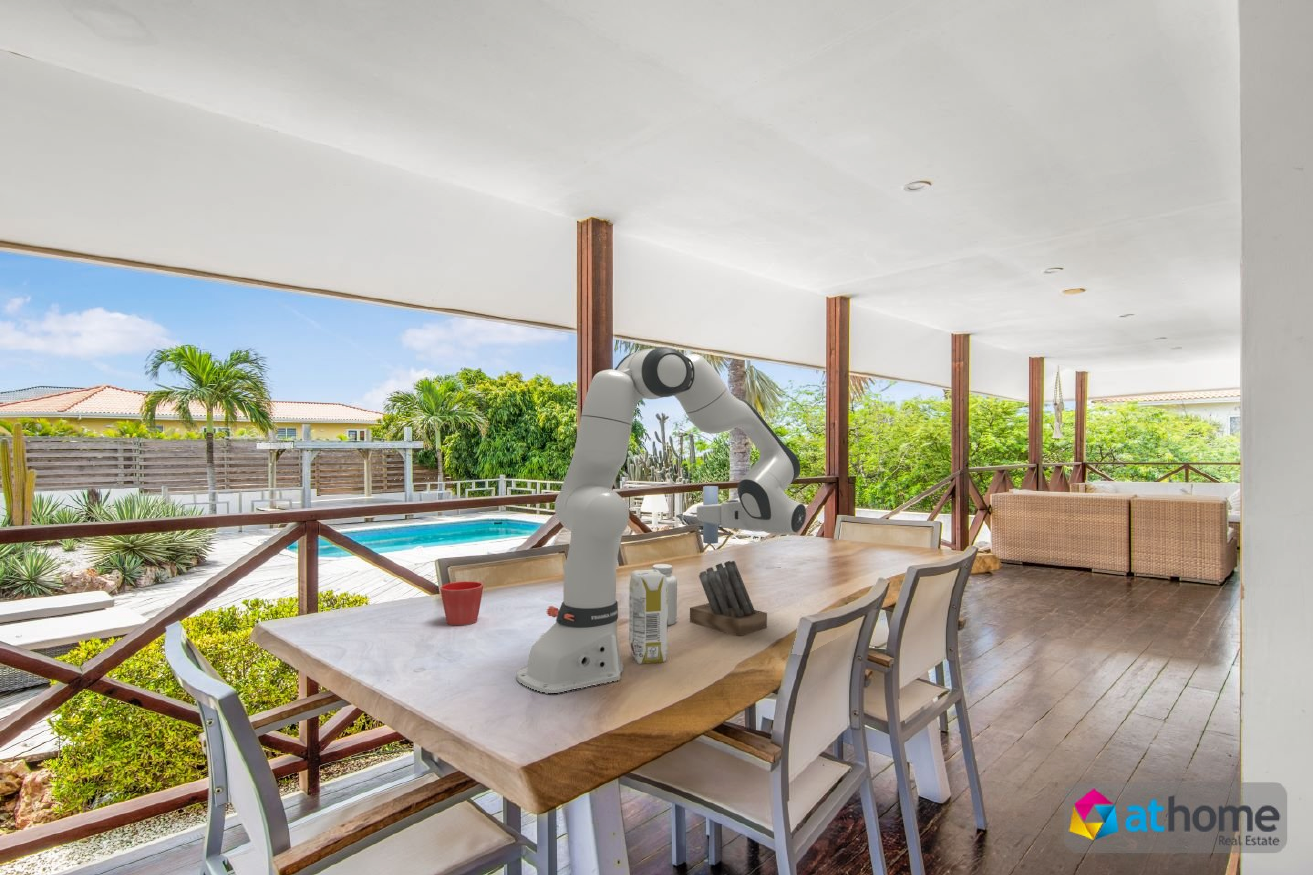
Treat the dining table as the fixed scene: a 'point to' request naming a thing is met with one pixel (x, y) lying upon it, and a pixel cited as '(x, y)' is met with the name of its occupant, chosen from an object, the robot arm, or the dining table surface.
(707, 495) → the peg
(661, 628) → the juice carton
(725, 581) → the slanted rod rack
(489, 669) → the dining table surface
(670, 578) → the pill bottle
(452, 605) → the flower pot
